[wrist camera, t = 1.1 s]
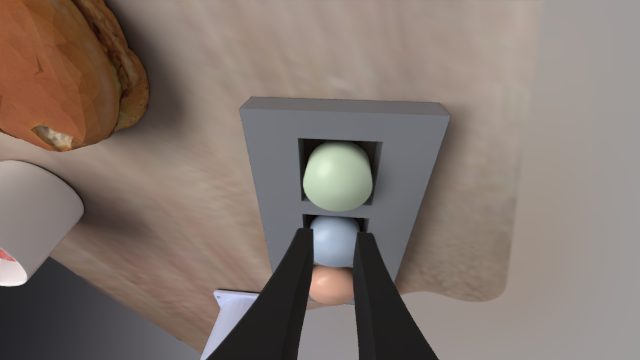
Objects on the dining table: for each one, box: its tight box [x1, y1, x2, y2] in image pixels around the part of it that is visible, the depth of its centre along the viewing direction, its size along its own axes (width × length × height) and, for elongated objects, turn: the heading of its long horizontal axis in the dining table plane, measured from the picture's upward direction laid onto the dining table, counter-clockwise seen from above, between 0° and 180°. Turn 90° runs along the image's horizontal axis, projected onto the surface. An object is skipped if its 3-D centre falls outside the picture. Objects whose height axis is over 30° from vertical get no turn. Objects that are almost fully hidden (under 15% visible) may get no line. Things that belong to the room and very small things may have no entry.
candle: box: [0, 160, 84, 286], centre depth 19 cm, size 9×9×6 cm
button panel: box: [239, 97, 451, 305], centre depth 19 cm, size 20×11×2 cm, turn 0°
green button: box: [303, 140, 372, 212], centre depth 15 cm, size 4×4×2 cm
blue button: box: [310, 215, 360, 267], centre depth 18 cm, size 4×4×2 cm
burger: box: [0, 0, 150, 152], centre depth 12 cm, size 10×9×5 cm
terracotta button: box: [309, 264, 354, 305], centre depth 22 cm, size 4×4×2 cm
